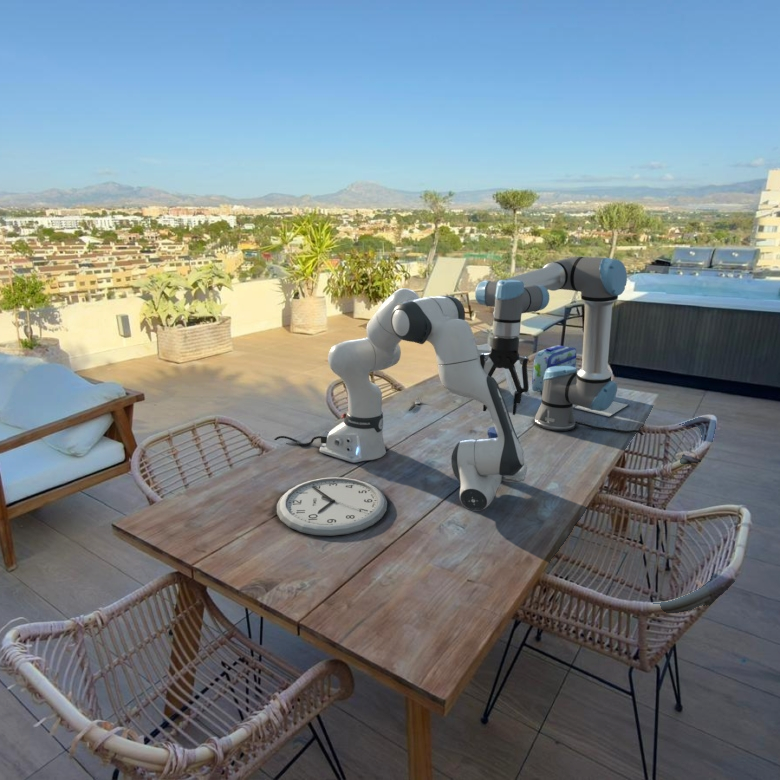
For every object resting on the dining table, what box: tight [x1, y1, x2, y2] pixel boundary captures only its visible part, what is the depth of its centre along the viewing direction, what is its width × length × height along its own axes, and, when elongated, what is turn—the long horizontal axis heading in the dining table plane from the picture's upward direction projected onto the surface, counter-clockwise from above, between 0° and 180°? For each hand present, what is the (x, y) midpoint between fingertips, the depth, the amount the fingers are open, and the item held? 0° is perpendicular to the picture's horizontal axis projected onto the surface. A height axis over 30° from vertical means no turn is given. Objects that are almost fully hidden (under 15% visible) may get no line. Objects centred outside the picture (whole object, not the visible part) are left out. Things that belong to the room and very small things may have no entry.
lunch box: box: [531, 345, 577, 393], centre depth 245 cm, size 26×11×21 cm, turn 134°
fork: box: [408, 396, 423, 412], centre depth 222 cm, size 3×16×2 cm, turn 160°
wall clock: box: [276, 476, 388, 537], centre depth 142 cm, size 30×2×30 cm
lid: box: [487, 426, 498, 438], centre depth 157 cm, size 6×6×2 cm
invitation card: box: [573, 400, 629, 418], centre depth 226 cm, size 21×1×15 cm
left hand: (496, 456), depth 160 cm, fingers closed on jar, 5 cm apart
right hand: (499, 411), depth 155 cm, fingers open, 8 cm apart
